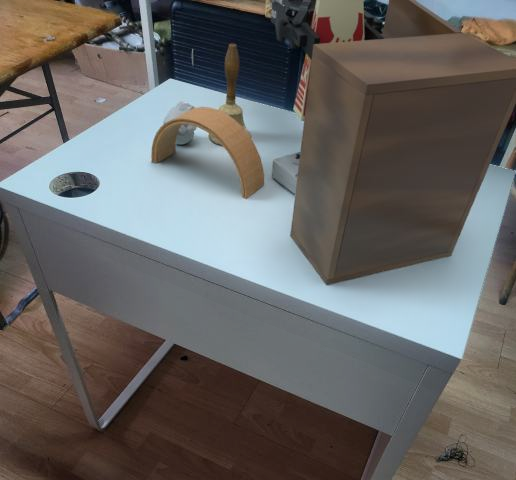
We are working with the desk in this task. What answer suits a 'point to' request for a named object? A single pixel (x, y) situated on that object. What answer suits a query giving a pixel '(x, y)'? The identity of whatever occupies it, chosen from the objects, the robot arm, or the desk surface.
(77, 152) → the desk surface
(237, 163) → the arch
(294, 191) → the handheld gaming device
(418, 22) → the cupboard door
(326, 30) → the milk carton
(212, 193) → the desk surface
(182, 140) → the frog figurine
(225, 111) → the hand bell
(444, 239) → the cupboard
